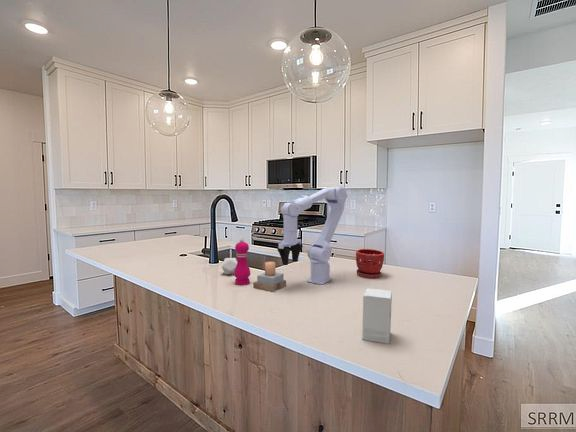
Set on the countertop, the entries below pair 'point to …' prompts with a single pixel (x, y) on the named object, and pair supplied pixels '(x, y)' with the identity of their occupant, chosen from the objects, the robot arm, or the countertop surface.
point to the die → (229, 266)
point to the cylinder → (269, 268)
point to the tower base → (269, 286)
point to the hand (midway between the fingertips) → (290, 263)
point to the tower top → (270, 278)
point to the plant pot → (369, 262)
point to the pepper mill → (242, 263)
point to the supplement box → (377, 315)
